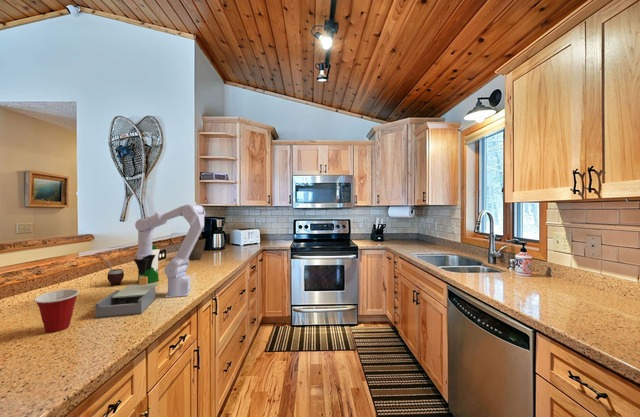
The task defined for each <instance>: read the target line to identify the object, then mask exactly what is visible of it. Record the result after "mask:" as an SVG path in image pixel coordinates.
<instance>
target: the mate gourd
mask: <svg viewBox="0 0 640 417" xmlns="http://www.w3.org/2000/svg"><path fill="white" fill-rule="evenodd" d="M102 260H103V261H105V262H106V263H107V265H108V266H109V269H110V270H109V271H108V273H107V277H106V278H107V281H108V283H109V285H110V286H109V287H110V288H112V287H115V286H122V281H123V280H124V277H125V274H124V272H125V271H124V270H123V269H122V268H115V269H113V267H112V265H111V264H110V261H109V260H108V259H105V258H102Z"/></svg>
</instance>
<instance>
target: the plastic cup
mask: <svg viewBox="0 0 640 417" xmlns="http://www.w3.org/2000/svg"><path fill="white" fill-rule="evenodd" d="M79 294H80V290H78V289H77V288H76V289H75V288H68V289H67V288H66V289H65V288H64V289H59V290H58V289H57V290H54V291H53V290H52V291H48V292H45V293H42V294H39V295H37V296H36V297H35V298H34V302H36V305H37V306H38V309H39V312H40V317H41V322H42V323H43V327H44V331H45V332H46V333H49V334H50V333H57V332H62V331H64V330H66V329H68V328H69V327H70V325H71V320H72V317H73V312H74V307H75V304H76V300H77V297H78V295H79Z"/></svg>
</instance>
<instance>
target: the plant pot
mask: <svg viewBox="0 0 640 417" xmlns="http://www.w3.org/2000/svg"><path fill="white" fill-rule="evenodd" d="M206 240H207V239H206V238H198V240H197V242H196V244H195V246H194V248H193V250H192V252H191V254H190V256H189V258H188V259H189V261H199V260H201V259H202V256H203V253H204V251H205V250H204V249H205V245H206Z"/></svg>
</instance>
